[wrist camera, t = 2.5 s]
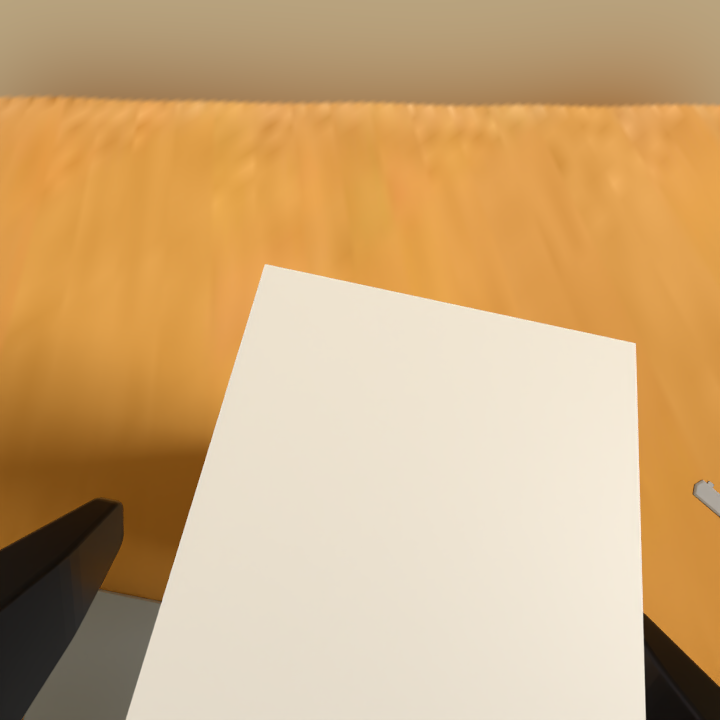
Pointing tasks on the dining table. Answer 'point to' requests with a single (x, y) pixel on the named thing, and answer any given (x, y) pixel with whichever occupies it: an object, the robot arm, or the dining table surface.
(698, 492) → the key chain
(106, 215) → the dining table surface
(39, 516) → the dining table surface
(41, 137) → the dining table surface
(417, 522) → the block
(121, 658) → the mat
